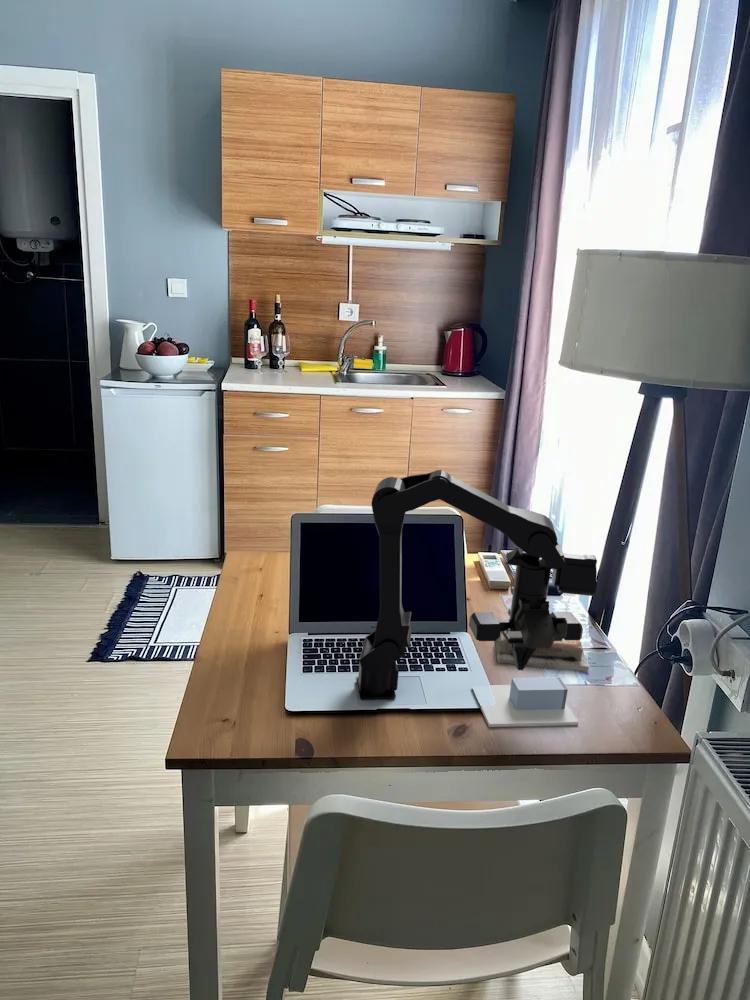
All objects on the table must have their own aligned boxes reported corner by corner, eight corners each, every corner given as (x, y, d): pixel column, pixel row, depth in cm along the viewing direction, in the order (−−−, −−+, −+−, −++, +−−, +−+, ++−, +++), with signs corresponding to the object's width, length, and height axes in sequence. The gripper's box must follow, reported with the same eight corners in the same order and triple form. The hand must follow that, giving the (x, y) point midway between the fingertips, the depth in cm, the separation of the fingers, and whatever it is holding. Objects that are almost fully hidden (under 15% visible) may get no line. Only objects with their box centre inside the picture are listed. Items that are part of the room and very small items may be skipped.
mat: (488, 727, 130) (489, 724, 130) (471, 688, 142) (471, 685, 142) (577, 724, 133) (578, 721, 133) (553, 687, 144) (554, 684, 144)
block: (518, 690, 134) (567, 689, 135) (511, 677, 137) (559, 677, 139) (515, 709, 135) (564, 709, 136) (509, 697, 139) (556, 696, 140)
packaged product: (499, 642, 150) (496, 619, 159) (496, 664, 152) (494, 640, 161) (592, 652, 149) (584, 628, 158) (588, 674, 150) (580, 649, 160)
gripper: (490, 610, 121) (480, 695, 126) (602, 609, 123) (587, 693, 128) (472, 580, 131) (463, 660, 136) (576, 581, 134) (563, 659, 139)
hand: (519, 669), depth 135 cm, fingers closed
